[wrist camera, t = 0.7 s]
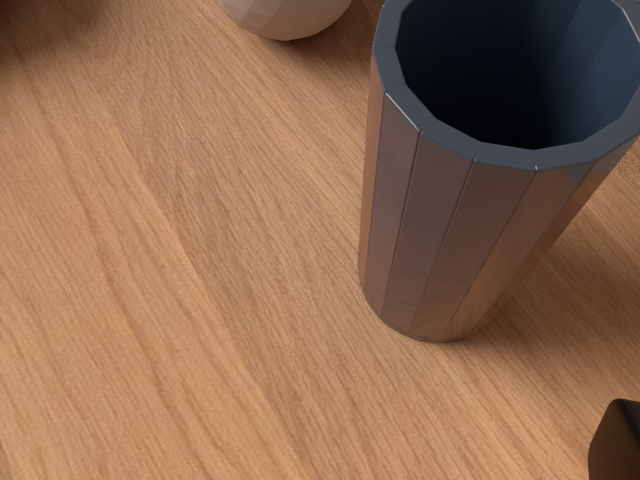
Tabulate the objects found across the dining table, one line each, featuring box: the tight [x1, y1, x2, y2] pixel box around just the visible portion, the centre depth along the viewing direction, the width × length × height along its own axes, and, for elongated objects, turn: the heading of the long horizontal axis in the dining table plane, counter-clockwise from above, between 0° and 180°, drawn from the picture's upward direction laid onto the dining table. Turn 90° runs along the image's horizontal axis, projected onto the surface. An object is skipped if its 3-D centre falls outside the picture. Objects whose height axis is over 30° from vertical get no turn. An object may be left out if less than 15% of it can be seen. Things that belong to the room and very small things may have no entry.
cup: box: [358, 0, 640, 342], centre depth 19 cm, size 6×6×13 cm
